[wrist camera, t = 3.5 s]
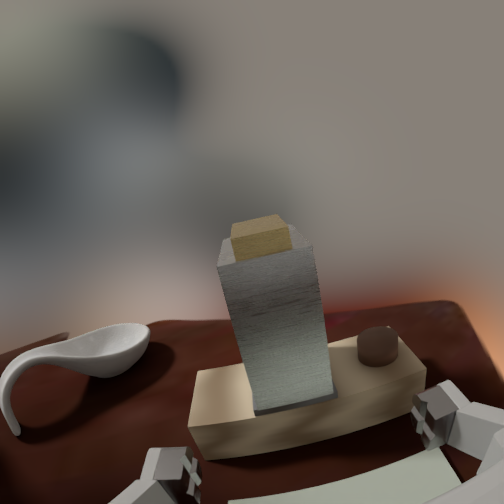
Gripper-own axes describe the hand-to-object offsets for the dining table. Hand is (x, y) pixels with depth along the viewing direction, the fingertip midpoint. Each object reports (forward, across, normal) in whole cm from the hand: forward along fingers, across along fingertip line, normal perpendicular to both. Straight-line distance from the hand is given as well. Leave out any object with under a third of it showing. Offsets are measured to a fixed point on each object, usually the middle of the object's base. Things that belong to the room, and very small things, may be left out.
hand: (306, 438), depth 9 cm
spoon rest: (+21, +25, +11) cm, 34 cm away
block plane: (+12, -1, +10) cm, 15 cm away
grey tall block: (+12, 0, +6) cm, 13 cm away
